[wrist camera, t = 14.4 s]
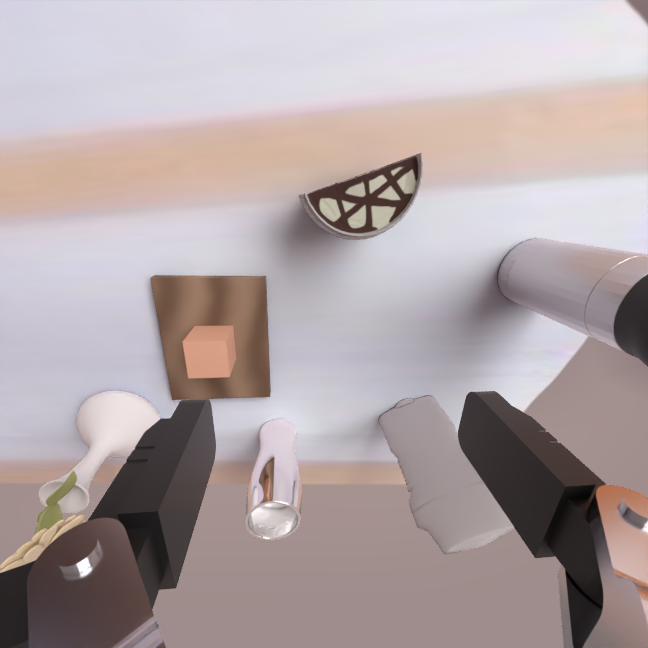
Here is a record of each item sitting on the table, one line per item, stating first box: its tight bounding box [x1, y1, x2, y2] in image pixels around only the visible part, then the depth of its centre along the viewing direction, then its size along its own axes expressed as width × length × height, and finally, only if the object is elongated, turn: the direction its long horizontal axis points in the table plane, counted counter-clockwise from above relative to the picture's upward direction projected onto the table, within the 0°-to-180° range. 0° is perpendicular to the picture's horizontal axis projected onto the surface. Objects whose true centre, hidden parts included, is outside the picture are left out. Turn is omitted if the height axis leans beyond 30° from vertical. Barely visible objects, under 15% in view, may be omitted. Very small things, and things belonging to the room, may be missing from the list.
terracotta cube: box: [183, 325, 236, 378], centre depth 40 cm, size 5×5×5 cm
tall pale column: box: [379, 395, 514, 554], centre depth 41 cm, size 11×4×22 cm, turn 113°
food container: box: [299, 153, 423, 240], centre depth 34 cm, size 12×6×10 cm, turn 108°
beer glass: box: [245, 419, 302, 540], centre depth 44 cm, size 7×7×15 cm
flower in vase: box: [0, 391, 160, 573], centre depth 35 cm, size 13×11×25 cm
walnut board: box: [151, 275, 270, 400], centre depth 43 cm, size 14×18×1 cm
